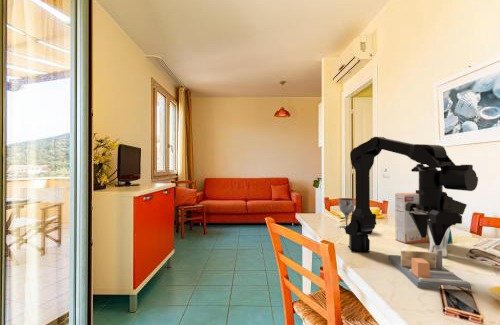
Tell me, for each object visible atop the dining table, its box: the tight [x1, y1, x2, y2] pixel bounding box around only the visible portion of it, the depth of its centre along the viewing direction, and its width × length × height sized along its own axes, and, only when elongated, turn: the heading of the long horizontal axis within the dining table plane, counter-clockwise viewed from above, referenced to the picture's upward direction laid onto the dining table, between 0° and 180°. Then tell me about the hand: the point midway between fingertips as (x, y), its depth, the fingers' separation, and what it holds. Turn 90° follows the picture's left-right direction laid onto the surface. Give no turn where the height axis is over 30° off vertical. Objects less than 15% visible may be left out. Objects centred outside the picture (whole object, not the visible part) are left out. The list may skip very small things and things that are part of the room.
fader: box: [411, 258, 430, 278], centre depth 73 cm, size 3×4×4 cm
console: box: [388, 250, 472, 291], centre depth 79 cm, size 13×21×7 cm, turn 171°
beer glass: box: [427, 219, 451, 258], centre depth 95 cm, size 7×7×15 cm
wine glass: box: [338, 197, 356, 230], centre depth 135 cm, size 8×8×15 cm
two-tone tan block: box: [400, 250, 436, 268], centre depth 80 cm, size 10×1×4 cm, turn 81°
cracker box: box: [394, 192, 429, 244], centre depth 112 cm, size 14×6×21 cm, turn 102°
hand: (430, 241), depth 75 cm, fingers open, 7 cm apart
